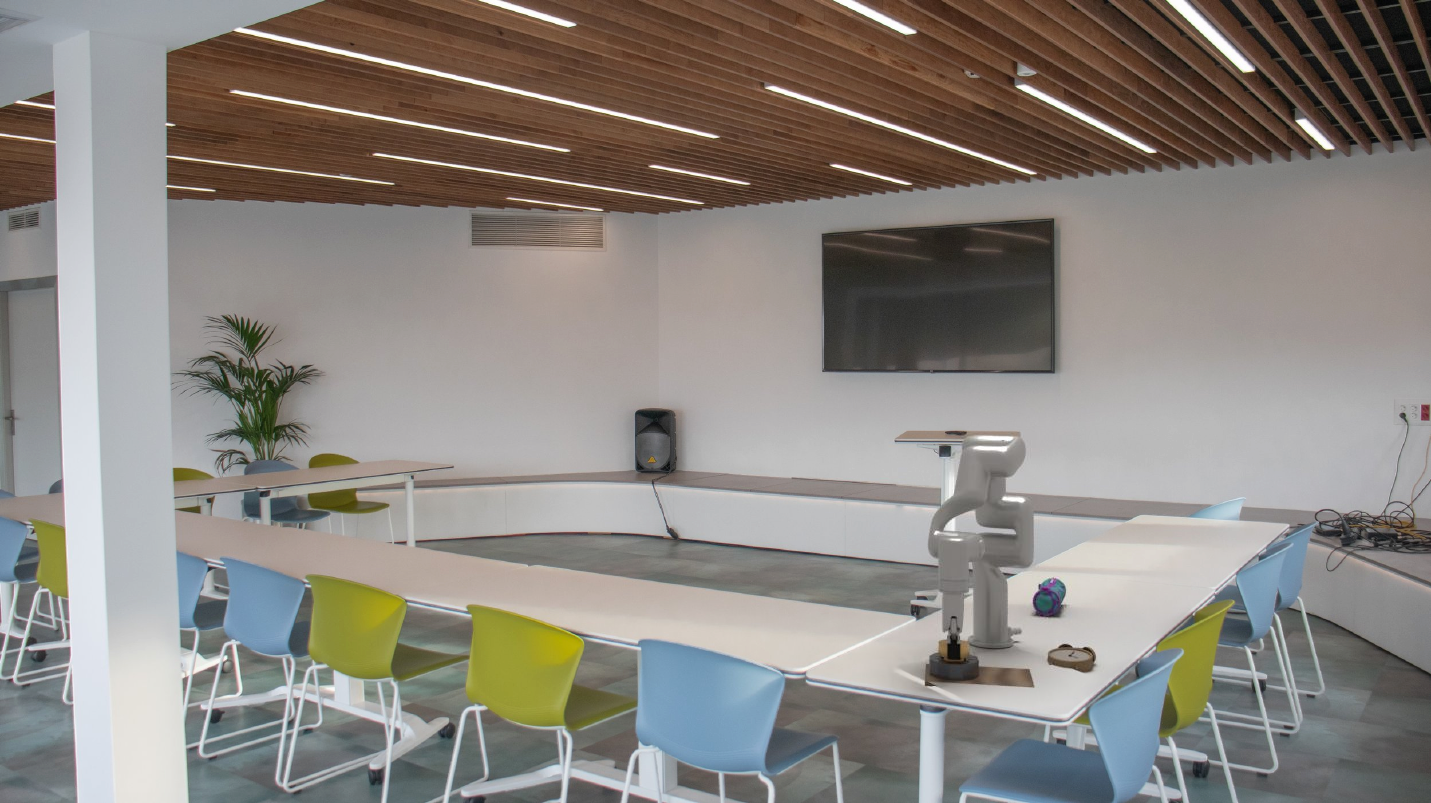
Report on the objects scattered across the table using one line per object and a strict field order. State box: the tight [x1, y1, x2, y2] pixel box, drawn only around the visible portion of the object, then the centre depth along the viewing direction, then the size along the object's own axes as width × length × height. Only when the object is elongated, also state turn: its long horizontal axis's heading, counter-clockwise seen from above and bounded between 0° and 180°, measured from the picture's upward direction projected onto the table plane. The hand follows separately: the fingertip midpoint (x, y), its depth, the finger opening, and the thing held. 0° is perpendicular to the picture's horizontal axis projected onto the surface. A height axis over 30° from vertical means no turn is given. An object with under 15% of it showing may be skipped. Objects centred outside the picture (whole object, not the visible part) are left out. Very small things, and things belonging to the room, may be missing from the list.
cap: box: [937, 638, 970, 662], centre depth 263 cm, size 8×8×7 cm
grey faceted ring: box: [928, 652, 980, 681], centre depth 263 cm, size 12×12×4 cm
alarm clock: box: [1047, 643, 1097, 673], centre depth 275 cm, size 11×5×15 cm
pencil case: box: [1032, 576, 1067, 617], centre depth 339 cm, size 21×9×10 cm, turn 157°
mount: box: [924, 663, 1035, 688], centre depth 262 cm, size 26×16×1 cm, turn 77°
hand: (953, 654), depth 263 cm, fingers closed on cap, 7 cm apart
